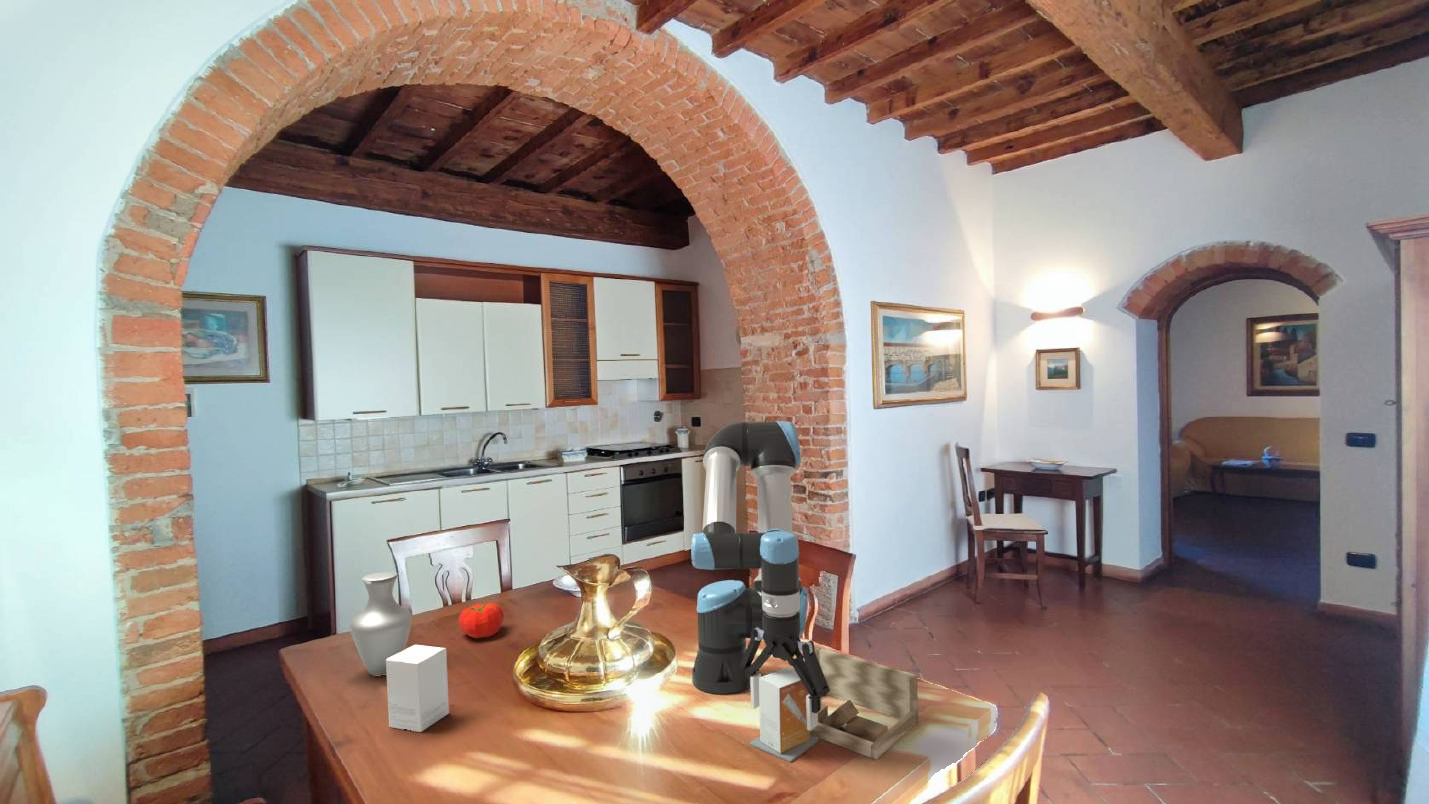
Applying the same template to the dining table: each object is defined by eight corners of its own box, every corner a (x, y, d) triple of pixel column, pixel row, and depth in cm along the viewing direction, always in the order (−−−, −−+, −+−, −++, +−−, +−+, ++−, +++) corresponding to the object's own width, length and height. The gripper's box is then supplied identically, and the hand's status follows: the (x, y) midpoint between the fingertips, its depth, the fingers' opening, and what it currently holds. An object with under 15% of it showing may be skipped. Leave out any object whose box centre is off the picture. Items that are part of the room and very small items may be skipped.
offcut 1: (789, 720, 143) (789, 703, 143) (799, 712, 146) (799, 696, 146) (818, 729, 139) (818, 713, 139) (828, 721, 142) (827, 705, 142)
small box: (780, 755, 129) (779, 688, 128) (759, 741, 134) (757, 677, 134) (811, 740, 134) (809, 676, 133) (789, 728, 139) (787, 666, 138)
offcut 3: (846, 740, 135) (846, 723, 135) (856, 732, 138) (856, 715, 138) (878, 752, 130) (878, 734, 130) (888, 743, 133) (887, 726, 133)
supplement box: (450, 713, 150) (448, 647, 150) (421, 733, 141) (418, 663, 141) (418, 708, 153) (415, 643, 152) (387, 727, 144) (384, 658, 144)
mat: (749, 745, 133) (749, 743, 133) (778, 724, 141) (778, 723, 141) (790, 762, 127) (790, 760, 127) (819, 740, 134) (819, 738, 134)
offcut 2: (831, 734, 136) (822, 721, 138) (841, 726, 139) (832, 713, 141) (849, 720, 134) (839, 706, 135) (859, 712, 137) (849, 699, 138)
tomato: (472, 626, 205) (471, 597, 205) (511, 627, 203) (510, 598, 203) (448, 643, 191) (447, 613, 191) (490, 645, 190) (488, 614, 189)
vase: (339, 679, 170) (334, 581, 169) (386, 657, 183) (382, 566, 182) (381, 687, 164) (376, 586, 163) (426, 664, 177) (422, 570, 177)
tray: (772, 719, 143) (771, 673, 143) (818, 689, 157) (817, 646, 156) (876, 759, 127) (875, 707, 127) (918, 721, 141) (917, 674, 140)
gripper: (721, 603, 139) (723, 705, 139) (824, 631, 122) (827, 745, 123) (743, 594, 144) (746, 691, 145) (845, 619, 128) (848, 728, 128)
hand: (783, 716), depth 134 cm, fingers open, 13 cm apart
